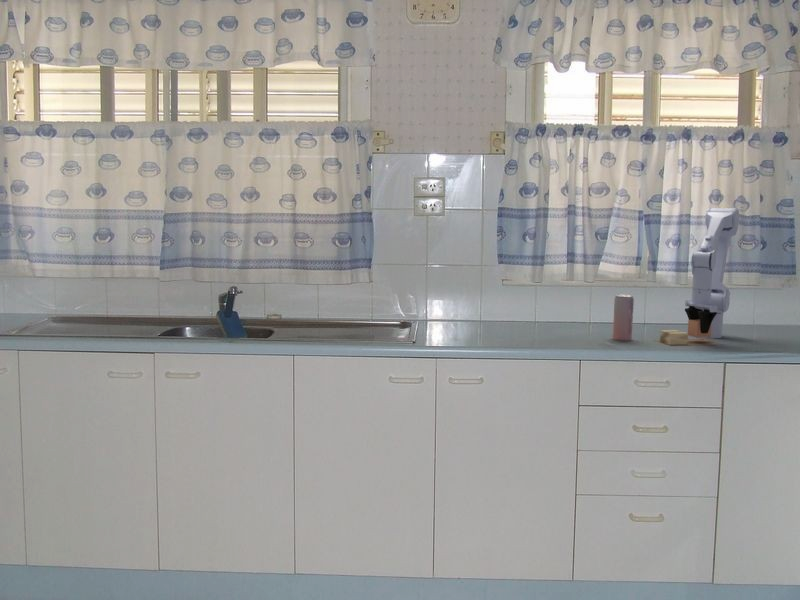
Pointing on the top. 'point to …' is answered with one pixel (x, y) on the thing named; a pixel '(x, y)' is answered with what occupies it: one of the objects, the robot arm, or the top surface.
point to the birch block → (673, 337)
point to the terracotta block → (697, 329)
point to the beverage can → (623, 317)
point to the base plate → (693, 342)
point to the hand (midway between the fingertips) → (699, 331)
